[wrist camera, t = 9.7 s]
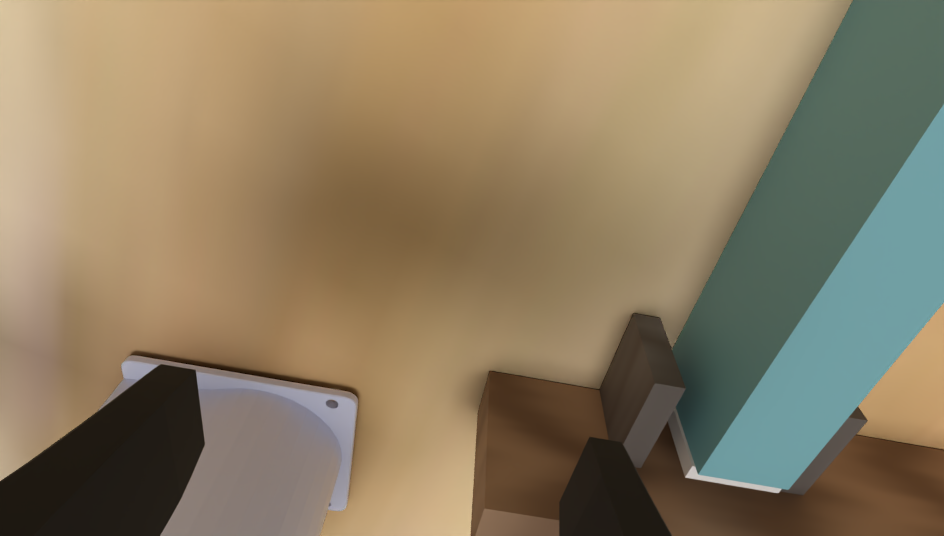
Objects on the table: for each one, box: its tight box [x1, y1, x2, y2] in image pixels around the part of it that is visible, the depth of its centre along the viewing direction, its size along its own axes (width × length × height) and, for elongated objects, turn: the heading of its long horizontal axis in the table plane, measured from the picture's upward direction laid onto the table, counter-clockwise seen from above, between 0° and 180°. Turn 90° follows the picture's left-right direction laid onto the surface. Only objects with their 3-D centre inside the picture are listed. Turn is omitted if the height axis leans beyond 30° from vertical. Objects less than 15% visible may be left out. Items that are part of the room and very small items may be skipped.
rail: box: [668, 0, 944, 493], centre depth 16 cm, size 3×15×5 cm, turn 170°
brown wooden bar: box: [471, 313, 944, 536], centre depth 20 cm, size 20×6×6 cm, turn 80°
